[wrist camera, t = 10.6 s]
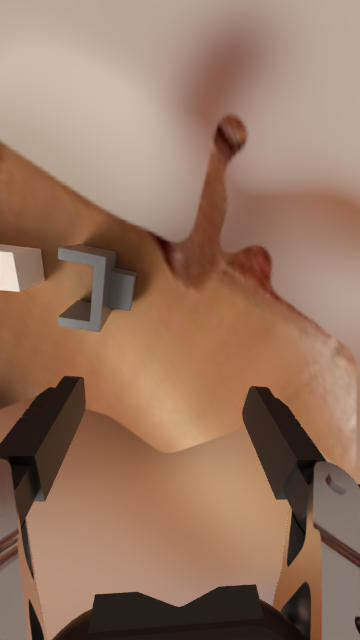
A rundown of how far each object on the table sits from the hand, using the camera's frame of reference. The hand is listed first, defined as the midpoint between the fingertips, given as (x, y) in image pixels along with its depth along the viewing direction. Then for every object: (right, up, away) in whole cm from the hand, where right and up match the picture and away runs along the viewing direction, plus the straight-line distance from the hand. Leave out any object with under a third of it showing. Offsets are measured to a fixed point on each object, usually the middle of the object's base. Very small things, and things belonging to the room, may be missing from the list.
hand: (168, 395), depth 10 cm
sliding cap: (-8, +8, +15) cm, 19 cm away
